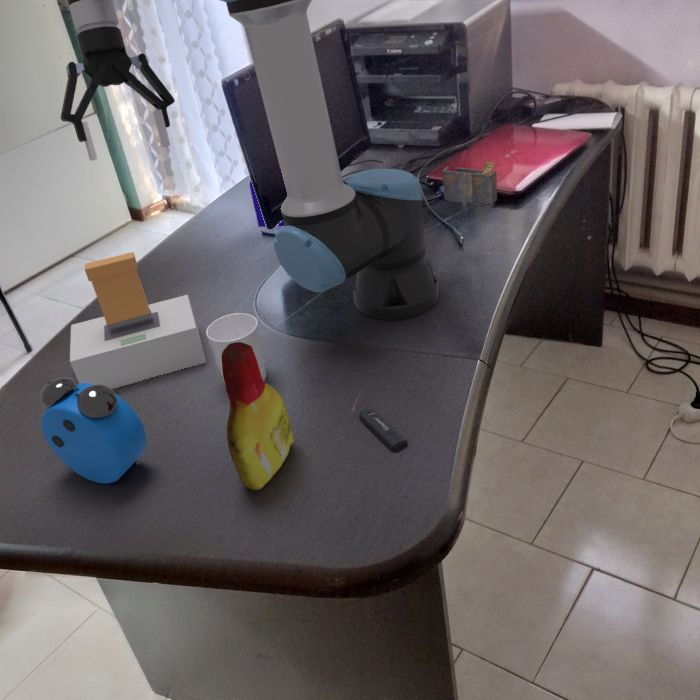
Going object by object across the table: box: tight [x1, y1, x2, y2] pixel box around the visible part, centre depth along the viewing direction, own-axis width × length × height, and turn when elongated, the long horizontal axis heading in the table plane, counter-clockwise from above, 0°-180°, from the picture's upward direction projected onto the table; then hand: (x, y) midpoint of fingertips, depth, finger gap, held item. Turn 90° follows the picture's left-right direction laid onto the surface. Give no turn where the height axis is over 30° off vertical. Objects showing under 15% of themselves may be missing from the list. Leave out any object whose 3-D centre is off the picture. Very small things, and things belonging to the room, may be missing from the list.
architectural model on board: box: [442, 160, 498, 204], centre depth 158 cm, size 11×3×10 cm, turn 58°
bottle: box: [222, 342, 295, 491], centre depth 93 cm, size 12×6×20 cm, turn 161°
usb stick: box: [358, 408, 408, 453], centre depth 101 cm, size 10×3×2 cm, turn 30°
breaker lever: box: [84, 251, 153, 331], centre depth 118 cm, size 3×8×11 cm, turn 107°
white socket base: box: [69, 294, 207, 390], centre depth 123 cm, size 12×20×7 cm, turn 107°
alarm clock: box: [40, 377, 148, 484], centre depth 98 cm, size 13×6×15 cm, turn 65°
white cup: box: [205, 312, 267, 387], centre depth 113 cm, size 8×8×10 cm
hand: (130, 153), depth 134 cm, fingers open, 13 cm apart
